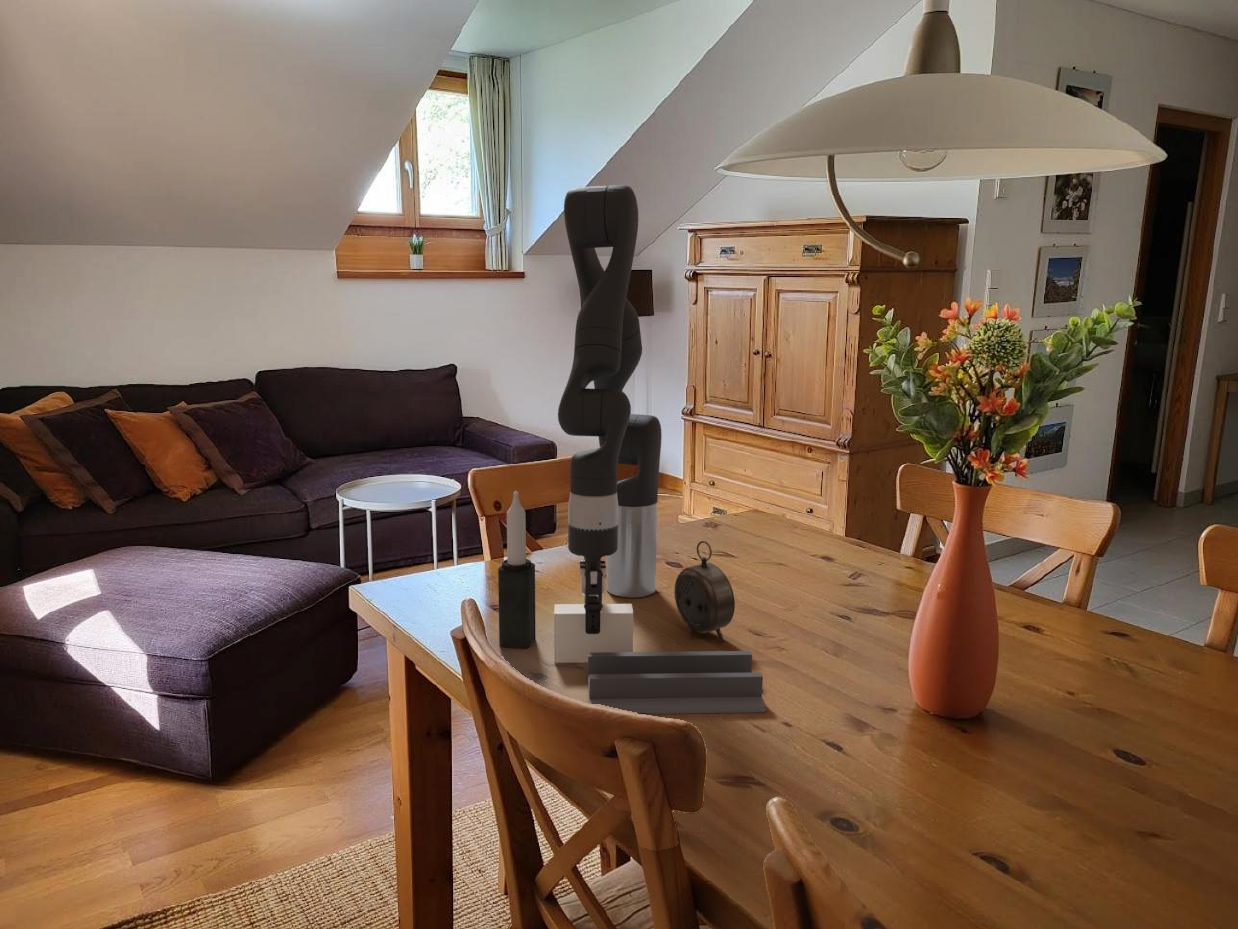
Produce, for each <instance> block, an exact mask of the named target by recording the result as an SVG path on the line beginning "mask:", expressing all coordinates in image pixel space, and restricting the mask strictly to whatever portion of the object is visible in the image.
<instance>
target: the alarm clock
mask: <svg viewBox="0 0 1238 929" xmlns="http://www.w3.org/2000/svg"><path fill="white" fill-rule="evenodd" d="M701 544H705V545H706V546H707V547H708V549H709V556H708V557H706V556H704V557H702V556H701V554H700V550H699V548H700V545H701ZM696 552H697V556H698V557H699V559H700V561H701V563H698V564H696V565H693V566H689V567H685V568H684V569H682V570H681V571H680V572H679V574H678V576H677V578H676V580H675V583H674V600H675V604H676V607H677V610H678V613H679V614H680V616H681V619H682V621H684V623H685V624H686V625H687V626H688V627H689V628H690V632H689V634H688V637H689V638H692V637H693V636H694V635H693V634H694V633H695V632H697V633H699V634H700V633H701V634H706V633H710V632H714V631H715V632H716V634H717V636H718V638H719V639H720V643H725V639H724V637H723V633H722V631H721V629H723V628H725V627H727V626H728V625H729V624H730V623H731V621H732V620H733V617H734V614H735V608H736V606H735V605H736V602H735V595H734V590H733V587H732V584H731V582H730V581H729V579H728V577H727V576H726V574H725V572H724V571H723V570H722V569H721V568H719V566H717V565H715V564H713V563H711V562H708V561H709V560H710V559H711V557H712V554H713V550H712V547H711V544H710V543H708V541H705V540H701V541H699V542H698V544H697V546H696Z"/></svg>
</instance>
